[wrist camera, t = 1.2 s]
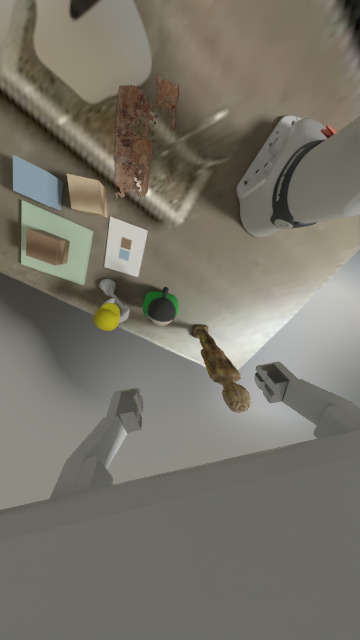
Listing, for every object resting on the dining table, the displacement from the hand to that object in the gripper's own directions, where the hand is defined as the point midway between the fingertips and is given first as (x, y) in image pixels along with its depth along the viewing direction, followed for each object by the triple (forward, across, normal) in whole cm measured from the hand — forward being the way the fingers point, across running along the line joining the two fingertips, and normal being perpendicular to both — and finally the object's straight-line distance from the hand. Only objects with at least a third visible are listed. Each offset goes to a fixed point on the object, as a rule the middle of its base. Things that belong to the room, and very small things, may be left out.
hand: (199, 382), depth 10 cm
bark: (+38, +1, -27) cm, 47 cm away
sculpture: (+38, -9, +19) cm, 43 cm away
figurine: (+38, +16, +3) cm, 41 cm away
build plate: (+38, +26, -11) cm, 47 cm away
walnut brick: (+37, +26, -11) cm, 47 cm away
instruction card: (+38, +10, -9) cm, 40 cm away
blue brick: (+38, +23, -22) cm, 50 cm away
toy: (+38, +3, +5) cm, 38 cm away
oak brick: (+38, +14, -19) cm, 45 cm away
